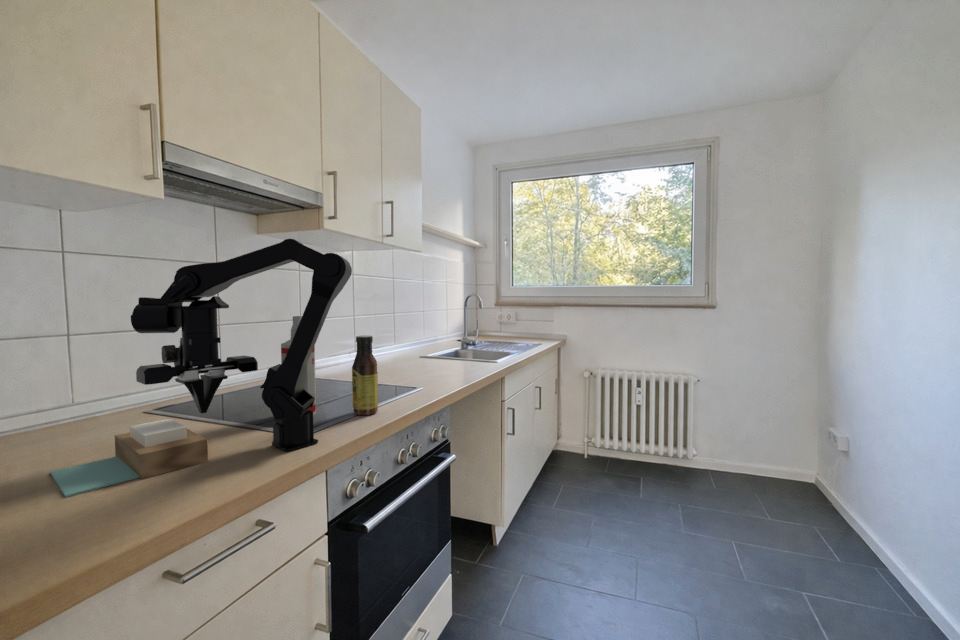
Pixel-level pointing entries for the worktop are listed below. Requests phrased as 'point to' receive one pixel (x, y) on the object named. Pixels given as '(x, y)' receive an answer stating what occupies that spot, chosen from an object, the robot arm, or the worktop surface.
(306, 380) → the spray bottle
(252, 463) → the worktop surface
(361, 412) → the sauce bottle
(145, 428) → the white block
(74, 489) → the mat
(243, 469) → the worktop surface
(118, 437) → the brown box
